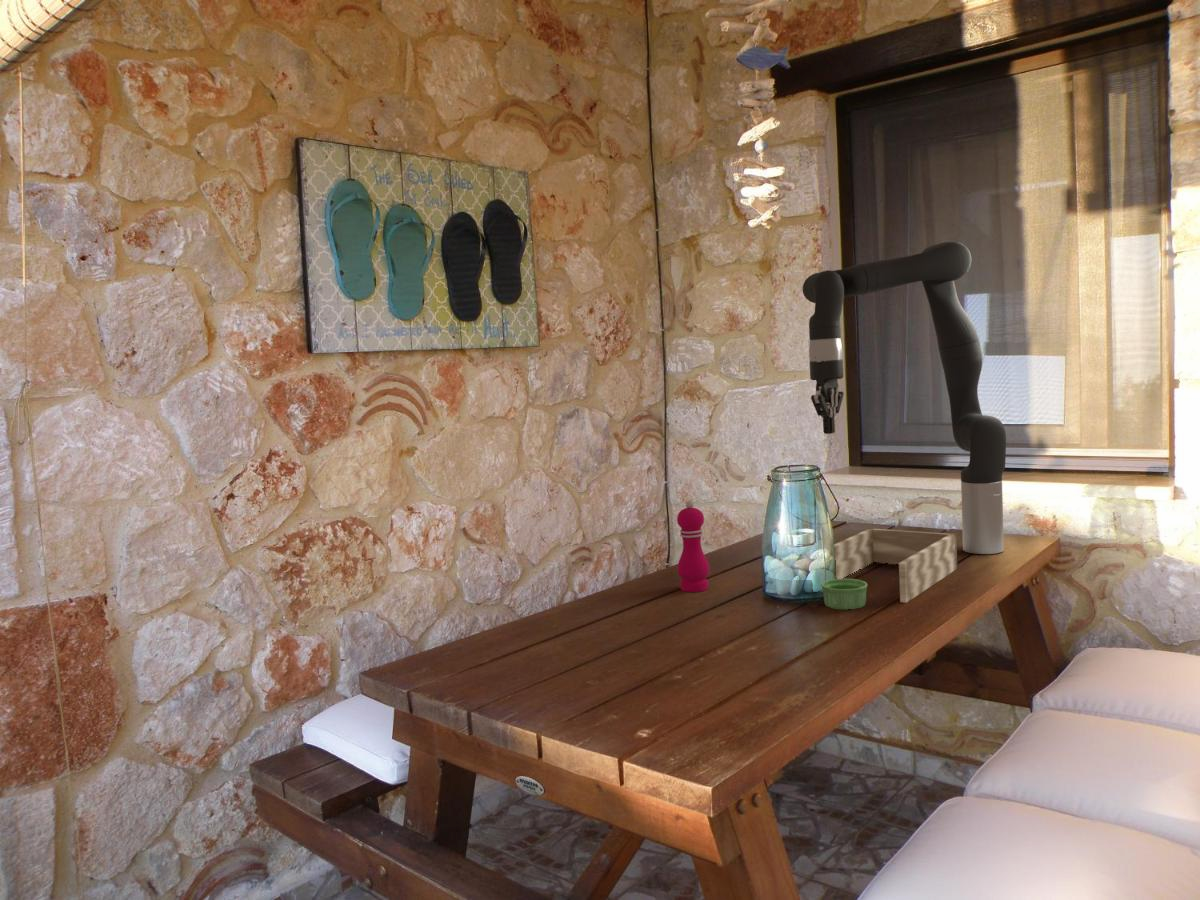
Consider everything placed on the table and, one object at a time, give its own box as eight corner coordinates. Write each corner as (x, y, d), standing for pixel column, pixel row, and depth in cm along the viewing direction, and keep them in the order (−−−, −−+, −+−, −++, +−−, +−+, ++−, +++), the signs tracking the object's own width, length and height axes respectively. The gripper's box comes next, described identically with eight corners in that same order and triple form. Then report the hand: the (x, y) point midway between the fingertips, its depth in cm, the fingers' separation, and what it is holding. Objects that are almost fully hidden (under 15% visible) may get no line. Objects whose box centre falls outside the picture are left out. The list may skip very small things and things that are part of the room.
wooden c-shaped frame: (870, 561, 220) (869, 528, 219) (957, 568, 207) (956, 534, 206) (812, 592, 195) (810, 555, 194) (906, 602, 182) (904, 563, 181)
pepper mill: (710, 584, 208) (705, 497, 206) (711, 592, 201) (706, 502, 199) (678, 585, 208) (673, 499, 207) (678, 593, 201) (673, 504, 199)
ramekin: (874, 609, 180) (873, 587, 179) (828, 612, 180) (827, 590, 179) (860, 597, 189) (860, 577, 188) (817, 600, 189) (816, 579, 188)
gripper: (823, 358, 218) (826, 430, 220) (798, 361, 208) (801, 436, 209) (853, 357, 213) (856, 430, 215) (828, 359, 203) (832, 436, 205)
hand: (829, 433), depth 212 cm, fingers closed
